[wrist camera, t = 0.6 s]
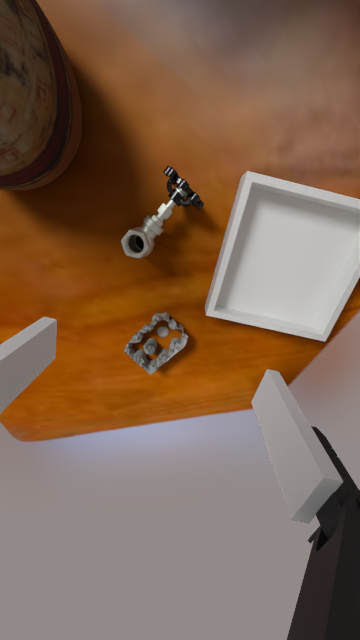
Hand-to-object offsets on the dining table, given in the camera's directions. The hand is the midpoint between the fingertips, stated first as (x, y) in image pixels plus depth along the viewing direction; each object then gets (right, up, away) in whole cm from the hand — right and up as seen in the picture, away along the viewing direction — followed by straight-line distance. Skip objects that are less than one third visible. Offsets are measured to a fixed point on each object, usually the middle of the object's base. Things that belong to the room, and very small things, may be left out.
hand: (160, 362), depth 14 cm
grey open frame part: (-3, -1, +29) cm, 29 cm away
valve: (-2, +18, +21) cm, 28 cm away
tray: (+17, +12, +23) cm, 31 cm away
